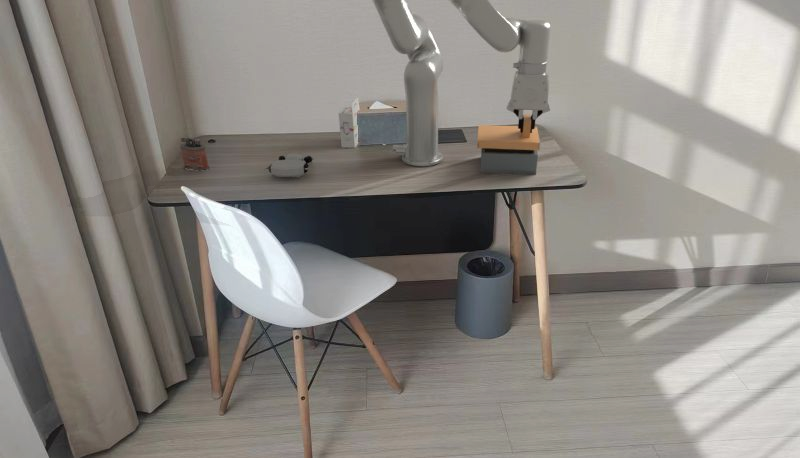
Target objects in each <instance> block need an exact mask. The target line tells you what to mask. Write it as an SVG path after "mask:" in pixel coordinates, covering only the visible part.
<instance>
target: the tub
mask: <svg viewBox="0 0 800 458" xmlns="http://www.w3.org/2000/svg"><path fill="white" fill-rule="evenodd" d="M480 149H481V150H480V151H481V153H480V173H486V174H512V175H513V174H517V175H519V174H520V175H537V167H538V155H539V154H538V150H518V149H494V148H480Z"/></svg>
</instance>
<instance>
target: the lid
mask: <svg viewBox="0 0 800 458" xmlns="http://www.w3.org/2000/svg"><path fill="white" fill-rule="evenodd" d="M523 116H524V123H523V132H522V133H521V132H520V129H518V125H517V126H516V125H493V124H478V131H477V145H476V146H477V149H482V148H494V149H518V150H537V151H540V148H541V147H540V145H541V142H540V135H539V130H538V127H537V126H535V129H532V133H530V129H531V114H530V113H529V114H528V113H523Z"/></svg>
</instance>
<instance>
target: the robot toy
mask: <svg viewBox="0 0 800 458" xmlns="http://www.w3.org/2000/svg"><path fill="white" fill-rule="evenodd" d="M277 159H278V160H275V161H273V162H272V163H271V164H270V165H269V166H267V167H264V170H268V172H269V173H270V174H271V175H272V176H274V177H277V178H280V177H282V178H291V177H292V178H295V177H296V179H297V177H298V178H301V177H303V176H304V174H306V173H307V172H308V171H309V170H310V169H311V168H310V166H309V165H308V164H310V163H312V162H313V160H315V156H311V155H307V156H305V157H303V155H302V154H300V153H288V154H286V156H284V155H279V156H278V157H277Z"/></svg>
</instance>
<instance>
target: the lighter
mask: <svg viewBox="0 0 800 458" xmlns="http://www.w3.org/2000/svg"><path fill="white" fill-rule="evenodd" d="M180 142H181V143H182V144H180V145H179V148H180V150H181V154H182V159H183V164H184V167H183V168H184V169H185V168H187V169H193V170H207V169H209V170H210V166H209V163H208V162H209V161H208V158H207V153H206V145H205V144H201V139H200V138H196V137H194V136H192V137H186V136H183V137H180ZM207 171H208V170H207Z"/></svg>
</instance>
